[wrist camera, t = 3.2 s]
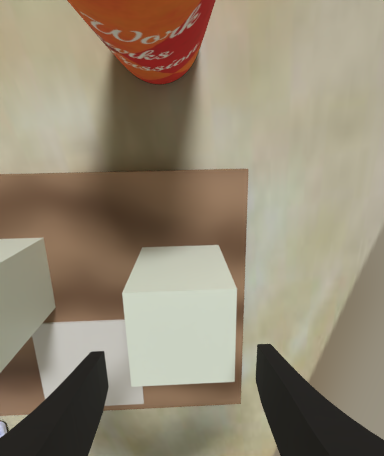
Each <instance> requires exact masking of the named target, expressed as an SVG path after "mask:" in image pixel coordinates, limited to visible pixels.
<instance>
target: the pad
mask: <svg viewBox="0 0 384 456" xmlns="http://www.w3.org/2000/svg"><path fill="white" fill-rule="evenodd" d="M32 338H33V343H34V348H35V353H36V357H37V362H38V367H39V372H40V377H41V382H42V387H43V392H44V396H45V399H46V398H47V397H48V396H49V395H50V394H51V393H52V392H53V391H54V390H55V389H56V388H57V387H58V386H59V385H60V384H61V383H62V382H63V381H64V380H65V379H66V378H67V377H68V376H69V375H70V374H71V373H72V372H73V370H74V369H75V368H76V367H77V366H78V365H79V364H80V363H81V362H82V361H83V360H84V358H85V357H86V356H87V355H88V354H89V353H90V352H92V351H104V353H105V361H106V369H107V377H108V385H109V388H108V392H107V397H106V401H105V406H112V405H132V404H144V395H143V386H137V387H131V378H130V368H129V357H128V347H127V337H126V327H125V320H100V321H75V322H50V323H42V324H41V325H40V326H39V328H38V329H37V330H36V331H35V332H34V334H33V335H32Z"/></svg>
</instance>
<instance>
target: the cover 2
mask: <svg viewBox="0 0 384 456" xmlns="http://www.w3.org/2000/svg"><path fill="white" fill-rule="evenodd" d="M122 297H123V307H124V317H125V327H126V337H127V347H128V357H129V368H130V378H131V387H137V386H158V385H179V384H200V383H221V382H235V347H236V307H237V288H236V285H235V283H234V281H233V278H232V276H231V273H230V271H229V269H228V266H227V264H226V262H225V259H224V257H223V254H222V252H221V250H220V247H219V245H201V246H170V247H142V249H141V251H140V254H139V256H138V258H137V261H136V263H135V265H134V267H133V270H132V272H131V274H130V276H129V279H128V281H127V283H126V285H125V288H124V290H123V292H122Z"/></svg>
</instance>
